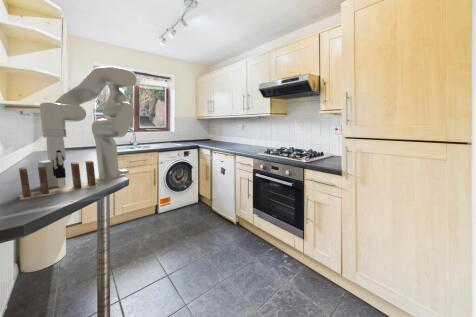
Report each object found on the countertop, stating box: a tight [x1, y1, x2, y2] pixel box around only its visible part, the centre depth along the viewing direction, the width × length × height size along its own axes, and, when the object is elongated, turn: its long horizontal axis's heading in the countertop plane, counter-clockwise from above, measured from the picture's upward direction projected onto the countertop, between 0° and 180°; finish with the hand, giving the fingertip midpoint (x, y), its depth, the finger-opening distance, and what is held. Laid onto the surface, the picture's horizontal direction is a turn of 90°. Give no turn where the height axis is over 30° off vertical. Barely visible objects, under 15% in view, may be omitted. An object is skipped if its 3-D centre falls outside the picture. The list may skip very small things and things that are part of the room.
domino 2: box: [54, 160, 66, 188], centre depth 94 cm, size 2×5×11 cm, turn 46°
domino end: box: [18, 166, 31, 198], centre depth 87 cm, size 2×5×11 cm, turn 46°
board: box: [18, 183, 100, 201], centre depth 95 cm, size 26×9×1 cm, turn 136°
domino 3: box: [70, 162, 82, 189], centre depth 98 cm, size 2×5×11 cm, turn 46°
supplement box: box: [37, 159, 67, 189], centre depth 102 cm, size 7×7×13 cm
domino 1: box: [37, 165, 50, 195], centre depth 91 cm, size 2×5×11 cm, turn 46°
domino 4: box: [84, 160, 97, 186], centre depth 102 cm, size 2×5×11 cm, turn 46°
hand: (59, 176), depth 94 cm, fingers closed on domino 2, 5 cm apart
